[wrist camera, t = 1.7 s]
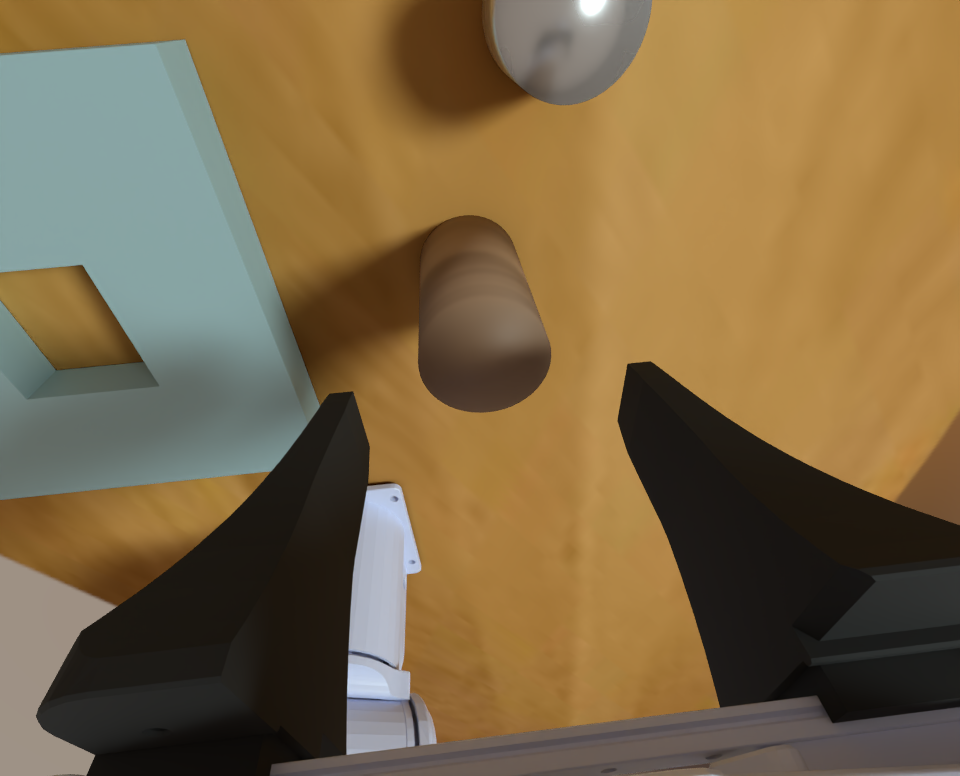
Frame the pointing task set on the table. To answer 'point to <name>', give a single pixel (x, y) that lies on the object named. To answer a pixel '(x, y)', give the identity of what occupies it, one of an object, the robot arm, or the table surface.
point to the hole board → (137, 279)
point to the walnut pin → (478, 319)
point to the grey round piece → (564, 44)
